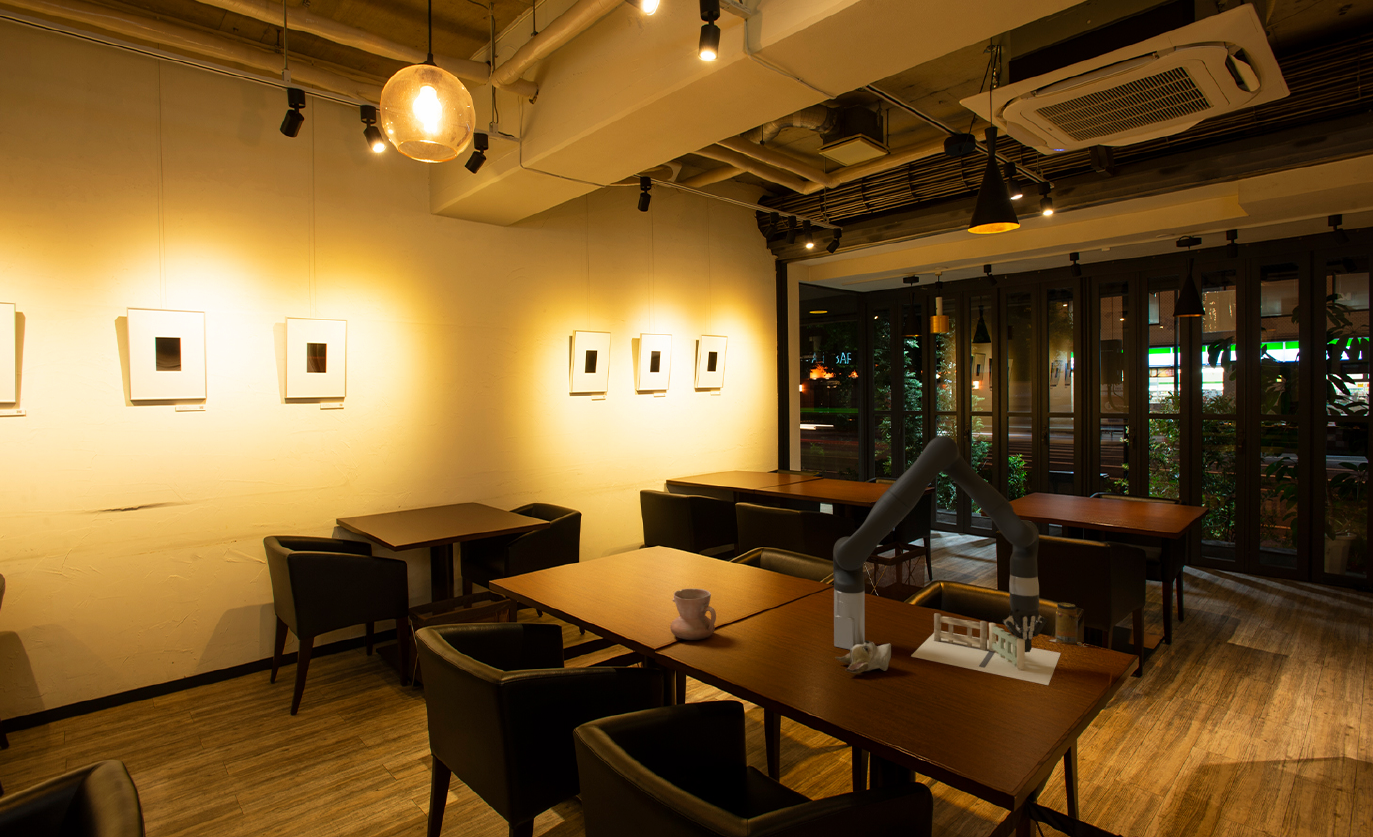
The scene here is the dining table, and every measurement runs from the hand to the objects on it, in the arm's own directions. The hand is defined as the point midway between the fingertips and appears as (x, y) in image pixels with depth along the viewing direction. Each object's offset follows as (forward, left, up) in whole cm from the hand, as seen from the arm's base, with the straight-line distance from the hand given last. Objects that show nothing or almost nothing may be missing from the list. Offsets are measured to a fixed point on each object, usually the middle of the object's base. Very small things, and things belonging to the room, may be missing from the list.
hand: (1025, 651), depth 189 cm
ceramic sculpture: (-29, +36, -5) cm, 47 cm away
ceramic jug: (-34, +92, -4) cm, 98 cm away
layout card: (+2, +11, -4) cm, 12 cm away
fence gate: (0, +5, -3) cm, 6 cm away
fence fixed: (+6, +19, -4) cm, 20 cm away
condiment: (+28, -8, -4) cm, 29 cm away
